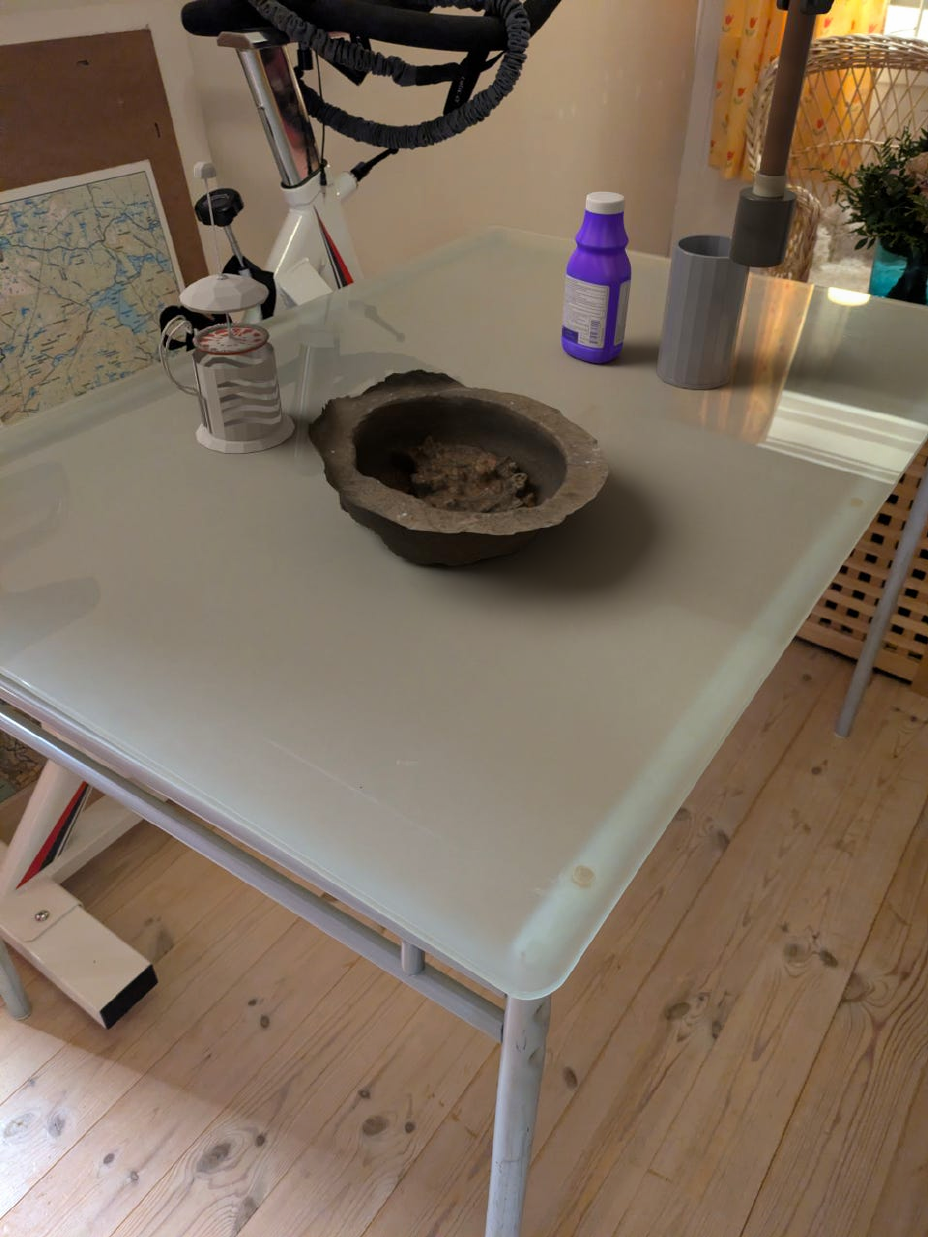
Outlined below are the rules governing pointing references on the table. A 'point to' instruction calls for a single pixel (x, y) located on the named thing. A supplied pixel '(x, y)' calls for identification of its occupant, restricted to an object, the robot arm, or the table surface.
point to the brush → (775, 157)
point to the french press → (231, 361)
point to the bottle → (597, 282)
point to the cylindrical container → (701, 312)
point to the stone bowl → (454, 466)
